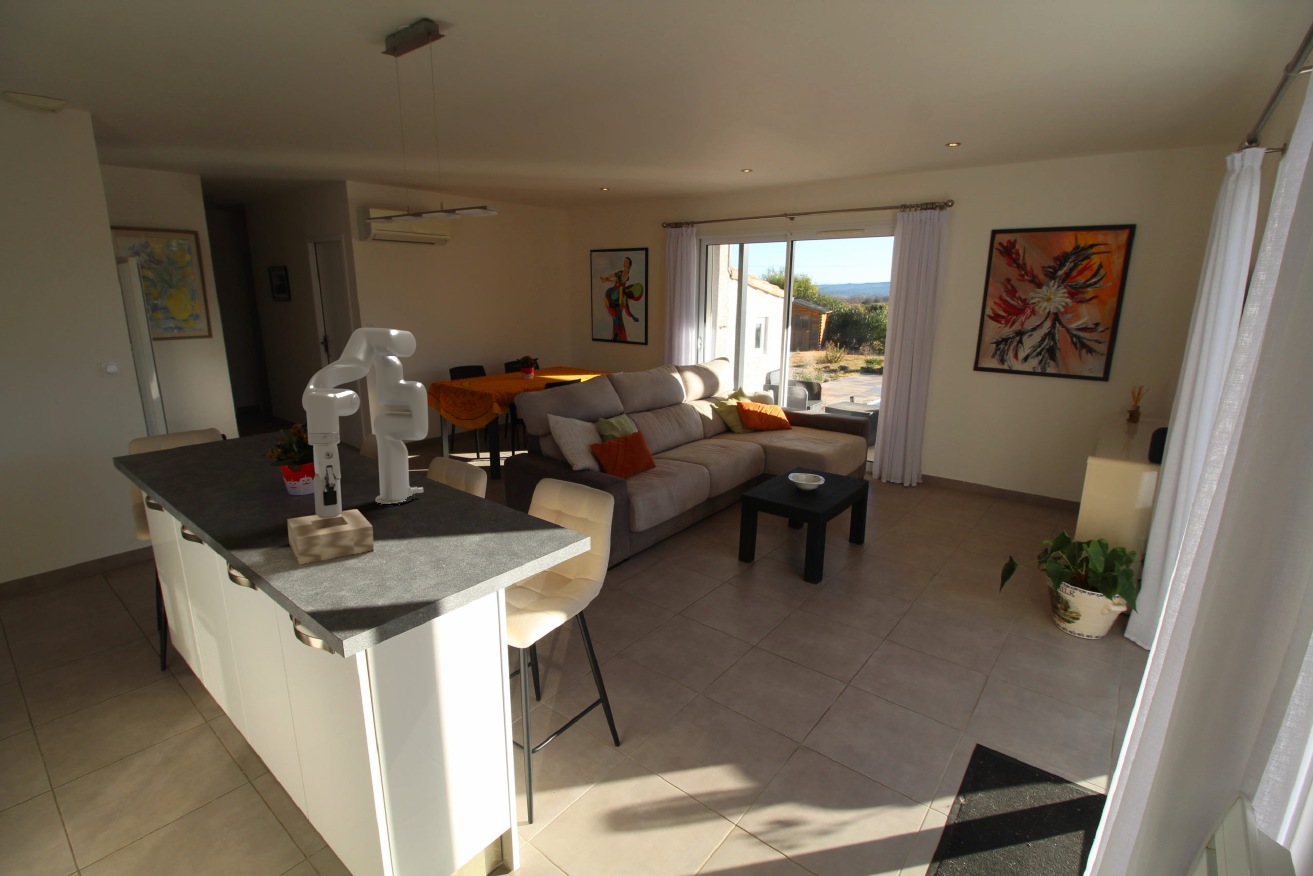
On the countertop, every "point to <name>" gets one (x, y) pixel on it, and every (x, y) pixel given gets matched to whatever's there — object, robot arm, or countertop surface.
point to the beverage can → (319, 504)
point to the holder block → (329, 536)
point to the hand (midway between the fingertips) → (328, 501)
